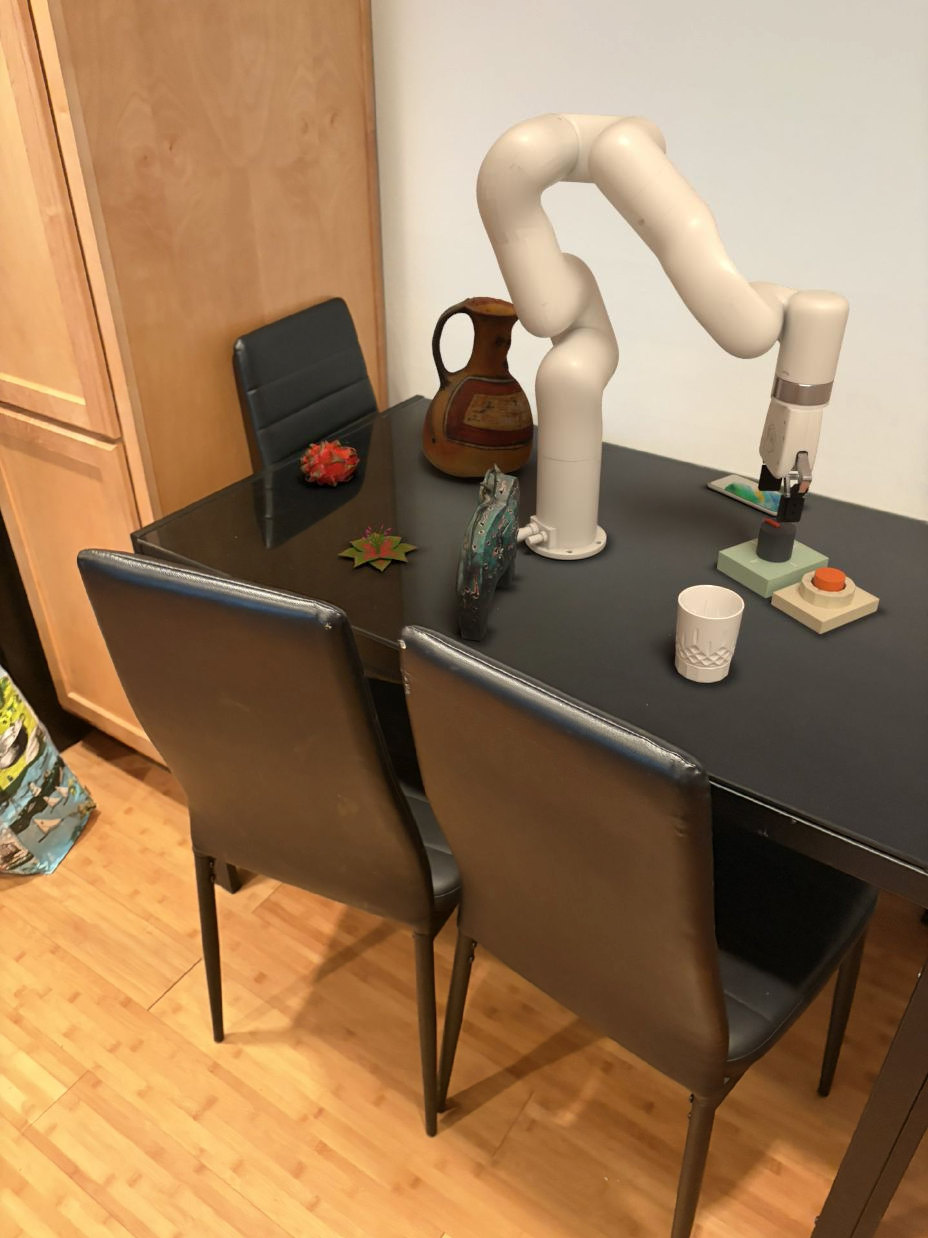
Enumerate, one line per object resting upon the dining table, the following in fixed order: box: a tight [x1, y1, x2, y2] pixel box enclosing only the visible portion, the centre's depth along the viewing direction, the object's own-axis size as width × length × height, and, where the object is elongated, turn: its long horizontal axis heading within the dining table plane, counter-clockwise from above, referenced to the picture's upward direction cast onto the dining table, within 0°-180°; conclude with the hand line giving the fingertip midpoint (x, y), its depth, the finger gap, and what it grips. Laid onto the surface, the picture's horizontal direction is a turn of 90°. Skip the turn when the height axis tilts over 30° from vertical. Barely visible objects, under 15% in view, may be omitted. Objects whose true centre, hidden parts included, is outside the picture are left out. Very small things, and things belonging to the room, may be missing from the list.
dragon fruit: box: [299, 439, 361, 488], centre depth 171 cm, size 8×8×12 cm
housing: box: [770, 571, 880, 635], centre depth 133 cm, size 11×9×4 cm
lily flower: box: [337, 524, 419, 572], centre depth 149 cm, size 12×12×5 cm
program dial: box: [756, 517, 797, 562], centre depth 140 cm, size 5×5×5 cm
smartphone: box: [707, 473, 783, 517], centre depth 164 cm, size 7×1×15 cm
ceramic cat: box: [454, 463, 521, 642], centre depth 131 cm, size 20×6×20 cm, turn 163°
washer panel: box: [716, 537, 830, 599], centre depth 142 cm, size 12×10×3 cm
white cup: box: [674, 584, 745, 684], centre depth 120 cm, size 8×8×10 cm
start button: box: [813, 566, 847, 592], centre depth 132 cm, size 4×4×2 cm
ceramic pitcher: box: [421, 296, 535, 478], centre depth 169 cm, size 20×20×30 cm
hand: (777, 505), depth 137 cm, fingers open, 9 cm apart
